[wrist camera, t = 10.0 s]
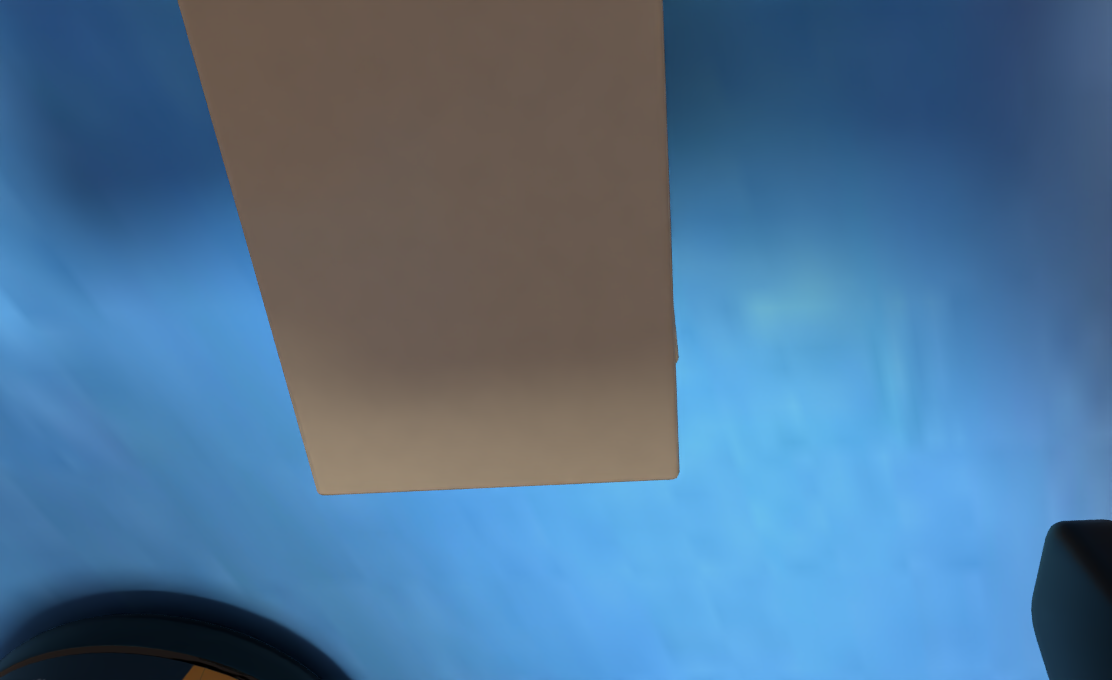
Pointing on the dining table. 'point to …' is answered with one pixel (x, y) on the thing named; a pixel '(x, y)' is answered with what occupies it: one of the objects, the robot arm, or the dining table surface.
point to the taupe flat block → (456, 232)
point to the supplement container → (147, 652)
